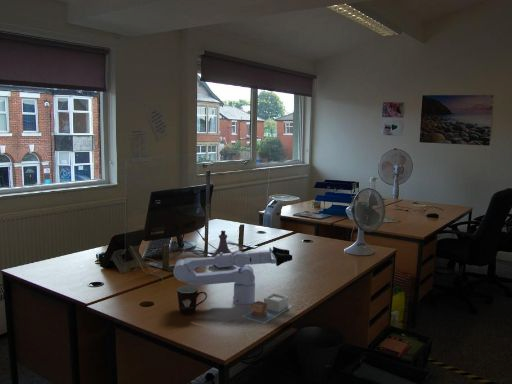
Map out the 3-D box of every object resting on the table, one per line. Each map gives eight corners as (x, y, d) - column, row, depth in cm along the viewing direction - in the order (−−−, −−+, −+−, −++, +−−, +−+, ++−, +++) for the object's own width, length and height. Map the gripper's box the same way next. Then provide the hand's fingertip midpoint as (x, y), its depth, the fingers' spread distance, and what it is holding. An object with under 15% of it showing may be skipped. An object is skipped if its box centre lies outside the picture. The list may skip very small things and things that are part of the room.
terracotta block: (260, 318, 186) (261, 306, 185) (251, 315, 188) (251, 304, 187) (266, 314, 189) (267, 303, 188) (257, 312, 192) (258, 300, 191)
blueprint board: (264, 325, 181) (264, 323, 181) (241, 318, 187) (241, 316, 187) (292, 308, 199) (292, 306, 199) (270, 302, 205) (270, 300, 205)
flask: (213, 272, 245) (213, 235, 242) (204, 263, 260) (204, 229, 257) (242, 269, 251) (242, 233, 248) (231, 260, 266) (231, 226, 263)
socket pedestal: (278, 312, 192) (279, 301, 192) (263, 308, 196) (264, 297, 196) (288, 306, 198) (288, 296, 198) (273, 302, 202) (273, 292, 202)
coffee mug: (173, 314, 190) (172, 291, 189) (183, 306, 198) (183, 284, 196) (198, 319, 186) (198, 295, 184) (207, 311, 194) (208, 288, 192)
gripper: (261, 253, 194) (293, 250, 195) (257, 244, 208) (287, 241, 209) (261, 269, 195) (293, 266, 196) (258, 259, 209) (288, 256, 210)
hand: (290, 254), depth 203 cm, fingers open, 7 cm apart
